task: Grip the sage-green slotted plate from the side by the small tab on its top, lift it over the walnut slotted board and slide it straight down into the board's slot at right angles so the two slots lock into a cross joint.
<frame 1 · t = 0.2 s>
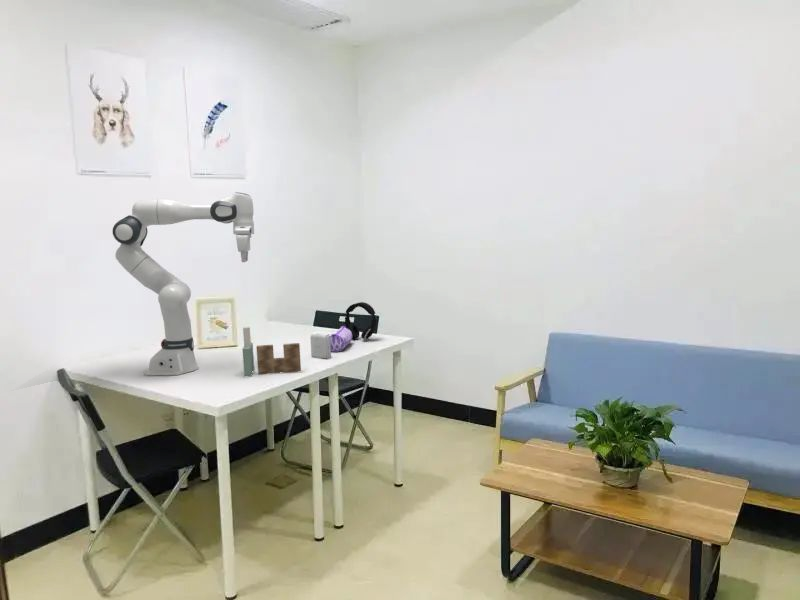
hand: (244, 261, 273), 47 cm above the table, tool pointing down, fingers open, 8 cm apart
headphones: (361, 340, 327), on the table
photo printer: (321, 357, 292), on the table
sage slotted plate: (249, 372, 267), on the table
walnut slotted board: (279, 372, 267), on the table
pencil case: (340, 348, 311), on the table
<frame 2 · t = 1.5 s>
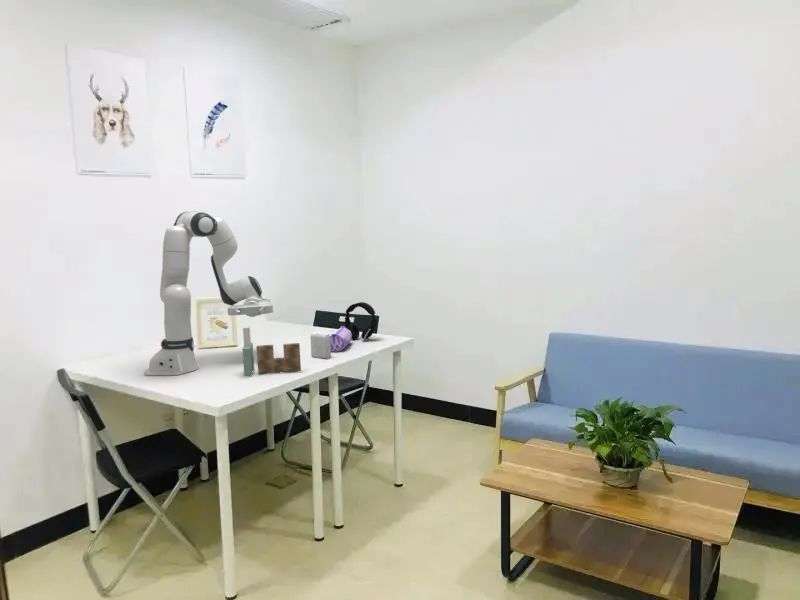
hand: (248, 312, 276), 25 cm above the table, tool horizontal, fingers open, 8 cm apart
nothing on the table moved.
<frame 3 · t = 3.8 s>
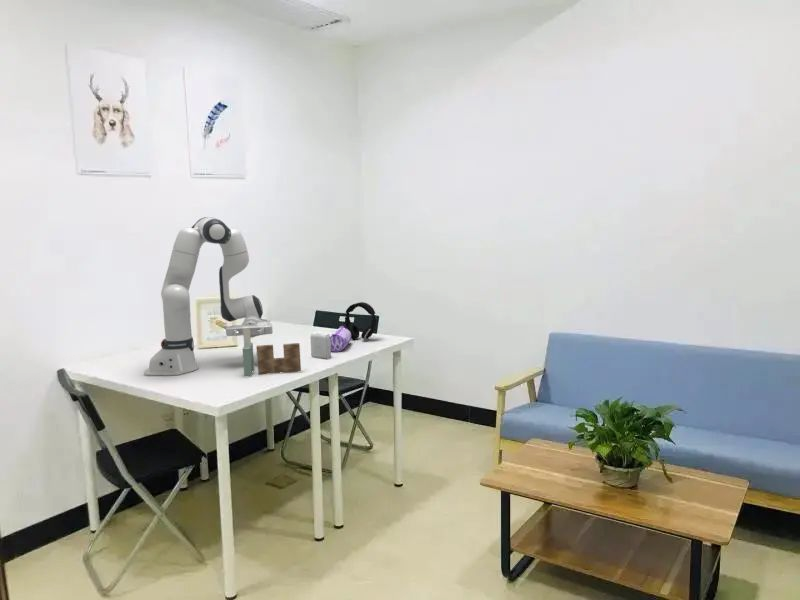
hand: (248, 333, 270), 16 cm above the table, tool horizontal, fingers open, 8 cm apart
nothing on the table moved.
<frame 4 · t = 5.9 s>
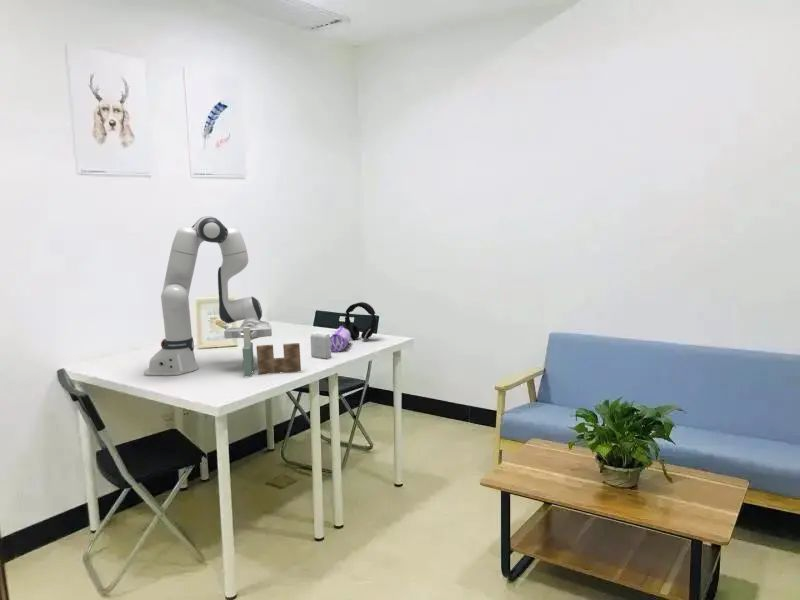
hand: (246, 335, 264), 17 cm above the table, tool horizontal, fingers closed on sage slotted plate, 2 cm apart
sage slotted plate: (249, 372, 267), on the table, touching gripper
everything else where it was.
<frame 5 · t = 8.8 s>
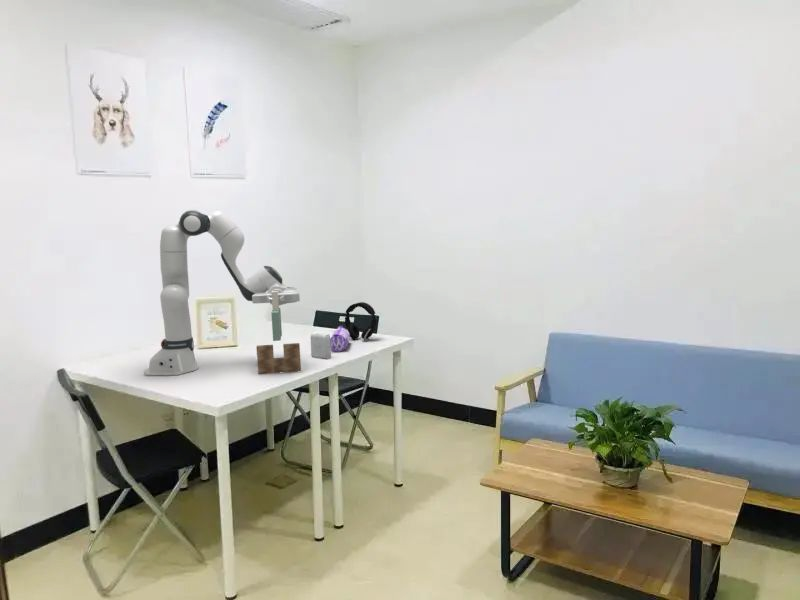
hand: (275, 300, 261), 32 cm above the table, tool horizontal, fingers closed on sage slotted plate, 2 cm apart
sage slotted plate: (277, 337, 265), point 15 cm above the table, touching gripper
everything else where it was.
when the fingers open (17 cm above the table, at t = 12.1 s): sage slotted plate stays where it is, on the table.
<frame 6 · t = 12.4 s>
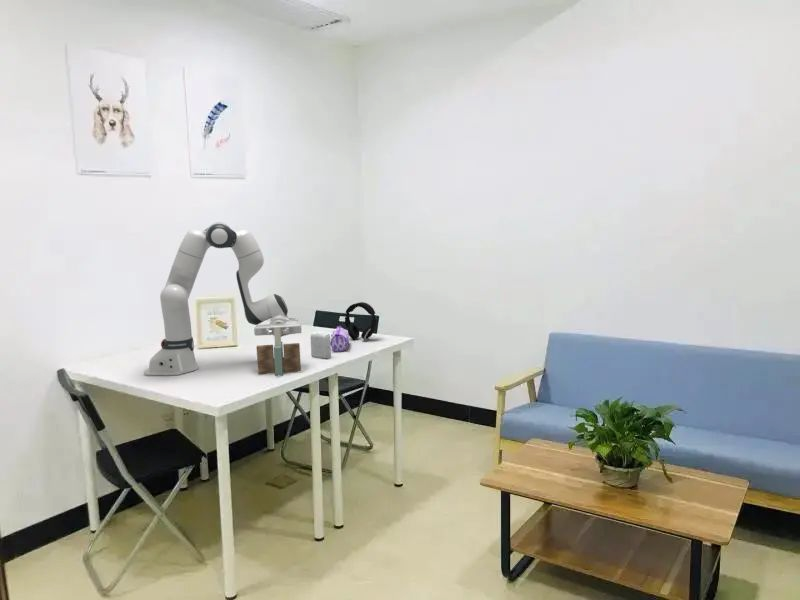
hand: (277, 332, 263), 17 cm above the table, tool horizontal, fingers open, 5 cm apart
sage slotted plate: (279, 372, 267), on the table
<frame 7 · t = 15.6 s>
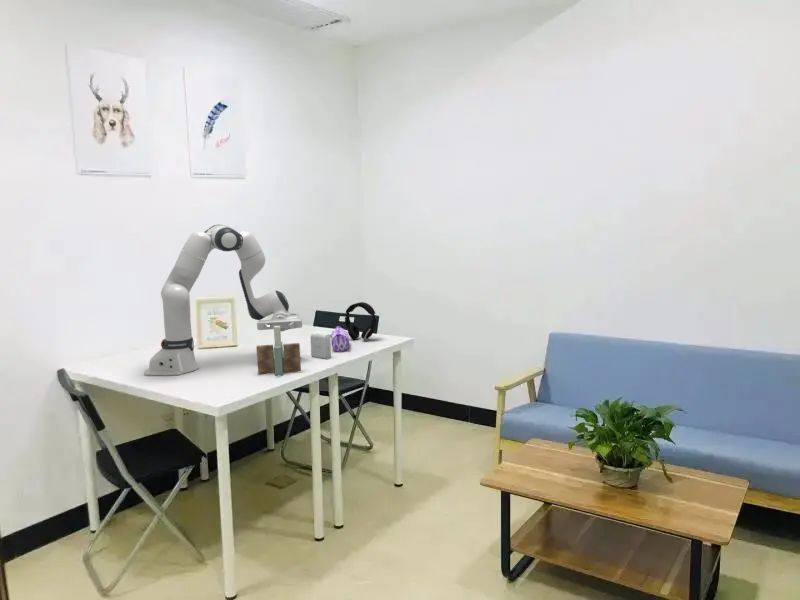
hand: (279, 327, 276), 18 cm above the table, tool horizontal, fingers open, 8 cm apart
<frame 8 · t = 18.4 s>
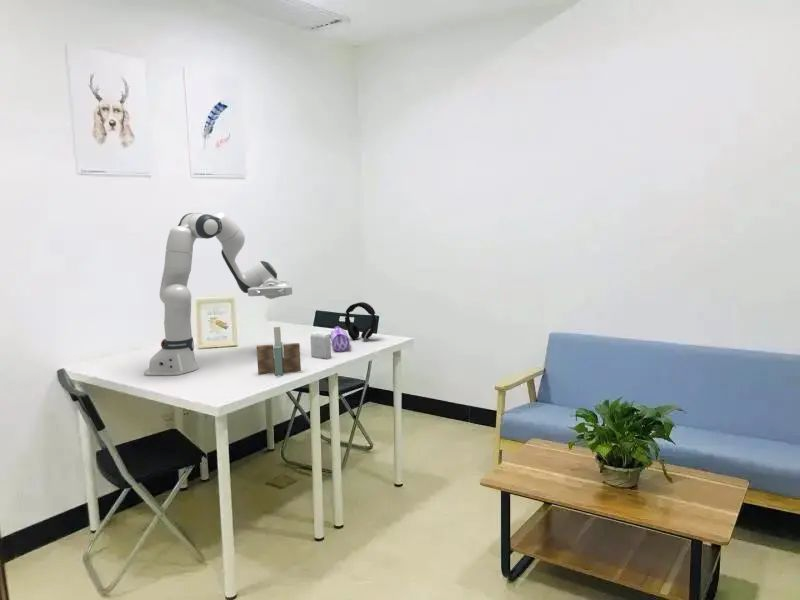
hand: (269, 293, 281), 32 cm above the table, tool horizontal, fingers open, 8 cm apart
at the end: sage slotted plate 0.1 cm off-centre on the walnut slotted board, point 0.0 cm above the walnut slotted board's base; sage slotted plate tilted 0°; the gripper is holding nothing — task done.
